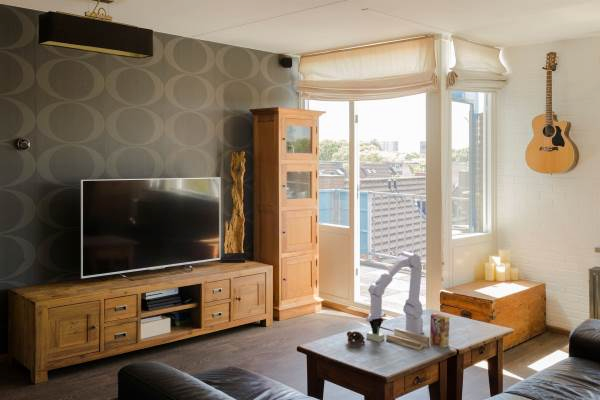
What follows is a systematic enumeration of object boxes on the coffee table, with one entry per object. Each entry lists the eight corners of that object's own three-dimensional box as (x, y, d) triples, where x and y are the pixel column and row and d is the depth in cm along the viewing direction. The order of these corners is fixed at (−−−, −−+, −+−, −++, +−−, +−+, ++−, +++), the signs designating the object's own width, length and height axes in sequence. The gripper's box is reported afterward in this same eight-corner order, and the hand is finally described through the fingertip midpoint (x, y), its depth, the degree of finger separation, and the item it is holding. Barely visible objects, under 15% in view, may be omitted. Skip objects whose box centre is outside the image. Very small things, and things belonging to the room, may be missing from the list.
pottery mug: (370, 346, 290) (367, 335, 286) (356, 357, 286) (354, 346, 282) (354, 334, 299) (351, 323, 294) (340, 345, 295) (337, 334, 290)
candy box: (449, 346, 290) (450, 316, 288) (443, 348, 287) (444, 318, 286) (434, 341, 297) (435, 312, 295) (429, 343, 294) (430, 314, 293)
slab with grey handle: (372, 336, 305) (372, 323, 304) (384, 339, 299) (384, 326, 298) (366, 338, 301) (366, 325, 301) (379, 341, 296) (379, 328, 295)
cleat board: (396, 336, 305) (396, 328, 304) (429, 345, 291) (429, 336, 290) (386, 340, 298) (386, 331, 298) (419, 349, 284) (419, 340, 284)
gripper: (378, 302, 307) (377, 327, 308) (361, 308, 296) (360, 334, 298) (389, 305, 302) (388, 330, 303) (372, 310, 291) (371, 337, 293)
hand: (375, 332), depth 300 cm, fingers closed on slab with grey handle
